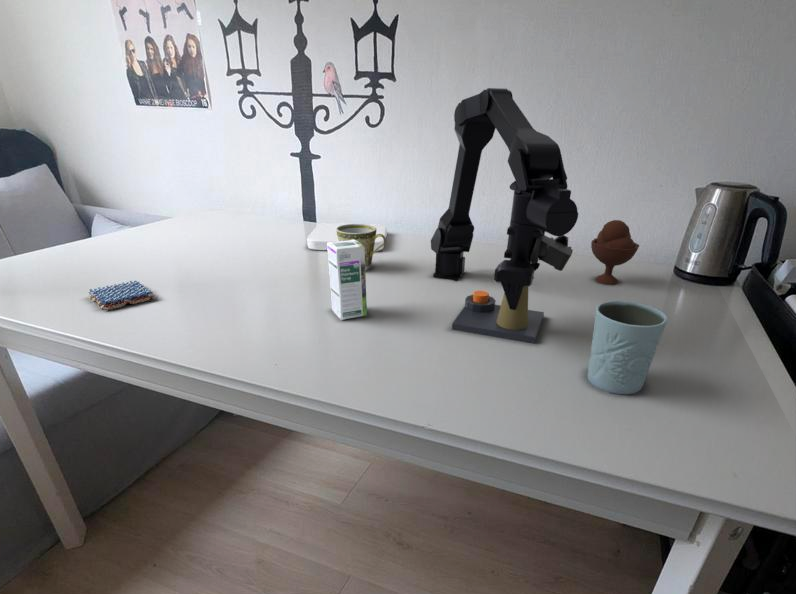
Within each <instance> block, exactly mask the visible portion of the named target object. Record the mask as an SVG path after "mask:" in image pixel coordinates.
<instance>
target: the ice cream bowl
mask: <svg viewBox="0 0 796 594" xmlns="http://www.w3.org/2000/svg"><path fill="white" fill-rule="evenodd" d="M590 242H591V246H590V249H591V252H592V254H593V256H594V257H595V259H597V260H598V261H599V262H600V263H601V264H603V265H605V270H604V273H602V274H599V275H597V276H596V277H595V279H594V281H596V282H597V283H599V284H602V285H609V286H612V285H617V284H618V283H619V280H618V279H617V277H616V276H614V275H613V270H614V268H615V267H616V266H621V265H624V264H626V263H627V262H629V261H630V260H631V259H633V257H634V256H635V255H636V253H637V252H638V249H639V247H640V244H638V243H636V242H635V241H634V239H633V238H632V235H631V232H630V227H629V225H627V224H626V222H625V221H623V220H621V219H613V220H610V221H608V222H606V223H605V224H603V227H602V229H601V230H600V231H599V232H598V234H597V237H596V238H595V237H594V238H593V240H591V241H590Z"/></svg>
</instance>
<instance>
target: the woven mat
mask: <svg viewBox="0 0 796 594" xmlns="http://www.w3.org/2000/svg"><path fill="white" fill-rule="evenodd" d="M88 294H89V295H88V298H89V300H90V299H91V301H92V302H93V303H94V302H95V303H97V305H98V307H99V309H100V310H102V309H103V310H105V311H110V310H115V309H118V308H123V307H124V306H126V305H136V304H140V303H143V302H147V301H149V300H150V299H154V298H155V297H156V295H155V294H153V291H152V289H149V287H147V286H145V285H144V284H143V283H141V282H140V281H137V280H134V281H132V280H129V281H127V282H126V283H125V282H122V283H119V284H116V283H114V284H113V285H110V286H109V285H106V286H103V287H99V286H98V287H97V288H93V289H92V288H90V289H89V292H88Z"/></svg>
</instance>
